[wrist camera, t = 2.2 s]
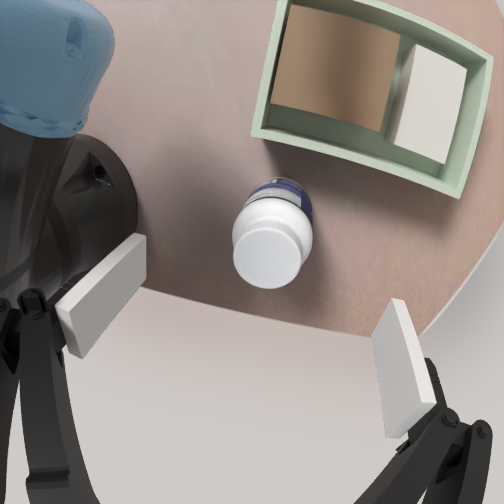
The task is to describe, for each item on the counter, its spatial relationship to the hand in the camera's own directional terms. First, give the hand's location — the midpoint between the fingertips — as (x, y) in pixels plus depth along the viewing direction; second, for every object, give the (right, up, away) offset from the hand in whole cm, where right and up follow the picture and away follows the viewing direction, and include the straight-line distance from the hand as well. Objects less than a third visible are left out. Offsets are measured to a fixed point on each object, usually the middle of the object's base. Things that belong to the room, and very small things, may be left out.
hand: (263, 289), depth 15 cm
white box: (+13, +14, +4) cm, 19 cm away
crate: (+9, +15, +5) cm, 18 cm away
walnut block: (+5, +15, +4) cm, 17 cm away
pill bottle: (+2, +6, +11) cm, 13 cm away
